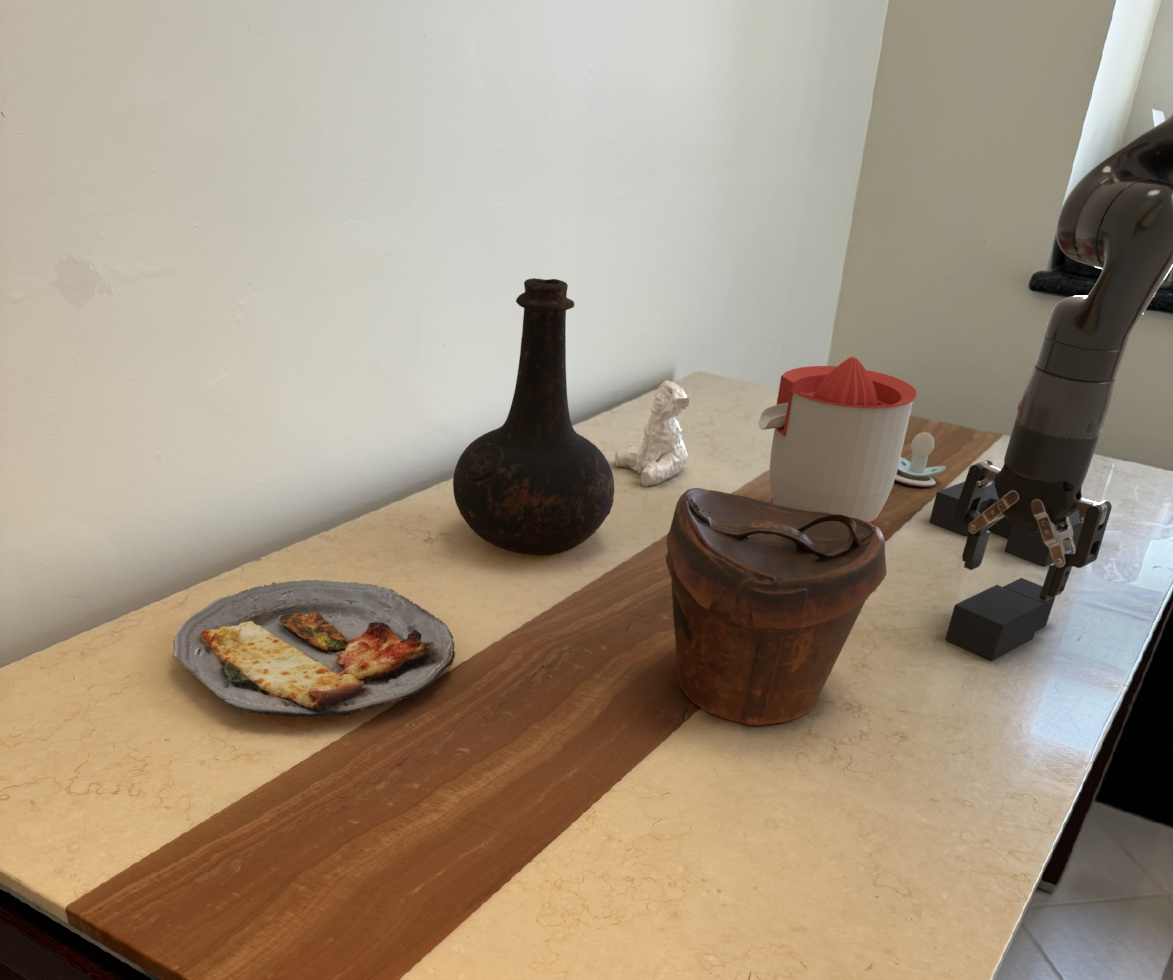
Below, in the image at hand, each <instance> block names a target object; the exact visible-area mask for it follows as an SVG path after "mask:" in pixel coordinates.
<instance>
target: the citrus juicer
mask: <svg viewBox="0 0 1173 980" xmlns="http://www.w3.org/2000/svg"><path fill="white" fill-rule="evenodd" d="M917 398H918V393H917V390H916V388H915V387H914V386H912V385H911V384H910V383H909V382H906V381H904V380H902V379H900V378H898V377H895V376H892V375H890V374H889V375H888V374H885V373H882V372H877V371H875V370H874V371H873V370H869V369H868V370H867V369H866V368H865V367H864V365H863V364H862V362H861V361H860V360H859V359H858V358H857V357H855V356H850V357H848V358H847V359H845V360H844V361H842V362H841V363H840V364H838V365H837V366H836V365H812V366H811V365H809V366H801V367H797V368H791V369H790V370H787V371H785V372H784V373H783V374H781V375H780V381H779V388H778V394H777V398H776V404H775V405H772V406H769V407H767V408H765V409H764V410H763V411H762V412H761V415H760V418H759V420H758V427H759V429H761V430H772V429H774V430H773V436H772V443H771V449H770V450H771V451H770V457H769V458H770V460H769V486H770V493H771V498H770V501H771V504H774V505H778V506H785V507H790V508H795V509H800V510H805V511H814V512H824V513H830V514H836V515H837V514H839V515H844V516H848V517H851V518H857V519H860V520H863V521H866V522H868V523H870V524H872V525H875V522H876V521H877V520H878V519H879V517H880V514H881V512H882V510H883V508H884V506H885V504H886V502H887V501H888V498H889V496H890V493H891V492H892V489H893V486H894V484H895V481H896V480H895V477H896V473H897V470H898V466H899V462H900V457H902V452H903V448H904V444H905V441H906V440H905V439H906V436H907V435H906V434H907V432H908V431H907V430H908V427H909V422H910V416H911V413H912V408H913V403H914V401H915V400H916V399H917Z"/></svg>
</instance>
